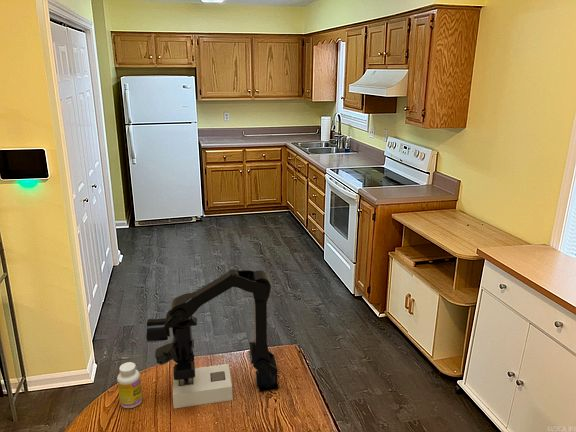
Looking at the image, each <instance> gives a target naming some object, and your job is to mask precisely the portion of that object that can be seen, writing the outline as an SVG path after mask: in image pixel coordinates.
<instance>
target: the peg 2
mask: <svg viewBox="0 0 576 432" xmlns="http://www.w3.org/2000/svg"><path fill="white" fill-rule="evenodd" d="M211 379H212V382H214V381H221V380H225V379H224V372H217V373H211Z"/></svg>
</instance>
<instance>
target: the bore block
mask: <svg viewBox="0 0 576 432" xmlns="http://www.w3.org/2000/svg"><path fill="white" fill-rule="evenodd" d="M217 372H224V379H225V380H221V381H214V382H212V379H211V373H217ZM172 378H173V379H172V402H173V409H179V408H189V407H194V406H200V405H201V406H202V405H207V404H213V403H221V402H229V401H233V400H234V399H233V384H232V383H233V382H232V377H231V371H230V364H229V363H224V364H223V363H222V364H217V365H216V364H215V365H209V366H202V367H195V377H194V378H193V384H192V385H185V386H180V380H174V376H172Z"/></svg>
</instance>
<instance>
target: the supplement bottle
mask: <svg viewBox="0 0 576 432" xmlns="http://www.w3.org/2000/svg"><path fill="white" fill-rule="evenodd" d="M116 380H117V388H118V397H119V403H120V404H119V405H120V406H121V407H122V408H125V409H132V408H136V407H137V406H139V405H140V404H141V403H142V401H143V392H142V391H143V390H142V383H141V374H140V371H139V370H137V366H136V363H134V362H131V361H129V362H128V361H127V362H124V363H122V364H121V365H120V366H119V373H118V375H117V378H116Z"/></svg>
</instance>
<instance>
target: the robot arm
mask: <svg viewBox="0 0 576 432" xmlns="http://www.w3.org/2000/svg"><path fill="white" fill-rule="evenodd" d="M232 288H238V289H240V290H243V291H244V292H248V293H252V296H253V306H254V307H253V308H254V309H253V310H254V311H253V313H254V314H253V316H254V317H253V318H254V319H253V320H254V340H253V341H251V342H250V341H249V342H248V344H249V350H248V354H249V355H248V356H249V359H250V364H251V365H252V366H253V369H255V370H256V371H255V385H256V387H257V388H258V391H259V392H261V393H262V392H267V391H273V390H274V391H275V390H279V388H280V386H279V383H278V371H279V369H278V366H277V362H276V359H275V358H276V357H275V354H274V353H272V352H271V351H270V350H269V345H268V331H267V329H268V316H267V315H268V314H267V312H268V311H267V310H268V308H267V307H268V306H267V304H268V301H269V298H270V293H271V289H272V285H271V282H270V279H269V276H268V274H267V273H266V272H265V271H263V270H249V269H244V270H243V269H242V270H239V269H229V270H228V271H227V272H225V273H224V274H223V275H220V276H219V277H218V278H215V279H214V280H213V281H211V282H209V283H207V284H206V285H204V286H202V287H200V288H199V289H197V290H195V291H194V292H188V293H183V294H182V295H178V296H176V297H175V298H173V299H172V300H171V304H170V309H169V310H168V311H167V312H166V314H165V317H164V318H149V319H147V320H146V336H145V337H146V341H147V343H151V342H162V341H168V340H169V337H171V335H172V342H169V343H166V344H164V345H162V346H160V347H158V348H156V349H155V352H154V357H155V359H156V360H155V361H156V364H159V365H160V366H163V365H165V364H168V363H169V361H171V360H172V359H173V362H175V364H174V366H173V373H172V374H173V376H174V380H181V379H184V381H188V379H189V378H194V377H195V368H196V367H195V366H196V365H195V354H194V349H195V339H194V338H193V330H192V327H193V326H195V327H196V326H197V325H198V318H197V317H196V316H193V315H195V313H196V312H197V311H198V310H199V309H200V308H201V307H202V306H203V305H204V304H207V303H208V302H210V301H212V300H213V299H215V298H217V297H218V296H220V295H222V294H223V293H225V292H227V291H229V290H231V289H232ZM171 329H172V333H171ZM173 376H172V377H173Z"/></svg>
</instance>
